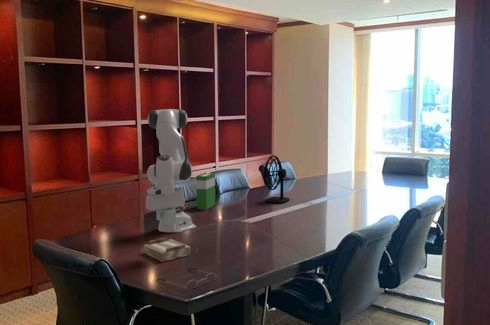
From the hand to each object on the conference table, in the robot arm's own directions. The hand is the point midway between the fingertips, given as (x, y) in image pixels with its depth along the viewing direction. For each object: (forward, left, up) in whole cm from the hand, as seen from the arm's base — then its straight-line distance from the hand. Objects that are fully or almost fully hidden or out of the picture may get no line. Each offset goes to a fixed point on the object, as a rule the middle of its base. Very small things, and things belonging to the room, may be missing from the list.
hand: (166, 216), depth 232 cm
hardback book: (-78, -75, -19) cm, 110 cm away
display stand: (0, 0, -19) cm, 19 cm away
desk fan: (-132, -58, -19) cm, 145 cm away
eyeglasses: (+12, +36, -19) cm, 43 cm away
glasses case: (0, 0, -2) cm, 2 cm away
